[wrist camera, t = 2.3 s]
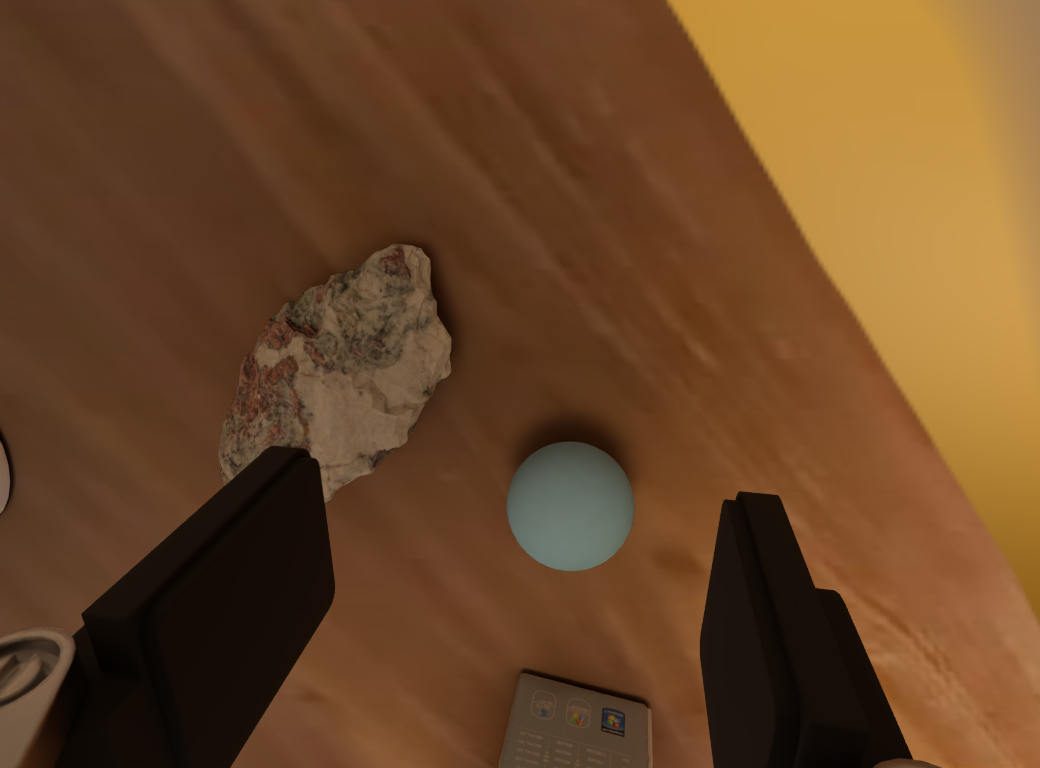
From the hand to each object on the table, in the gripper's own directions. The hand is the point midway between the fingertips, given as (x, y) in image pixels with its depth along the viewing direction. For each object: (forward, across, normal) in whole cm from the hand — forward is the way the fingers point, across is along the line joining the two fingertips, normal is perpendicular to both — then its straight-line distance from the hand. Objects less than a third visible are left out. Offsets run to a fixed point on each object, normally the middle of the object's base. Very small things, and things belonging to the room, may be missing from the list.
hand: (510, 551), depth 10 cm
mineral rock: (+18, +11, +5) cm, 22 cm away
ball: (+15, 0, +9) cm, 17 cm away
